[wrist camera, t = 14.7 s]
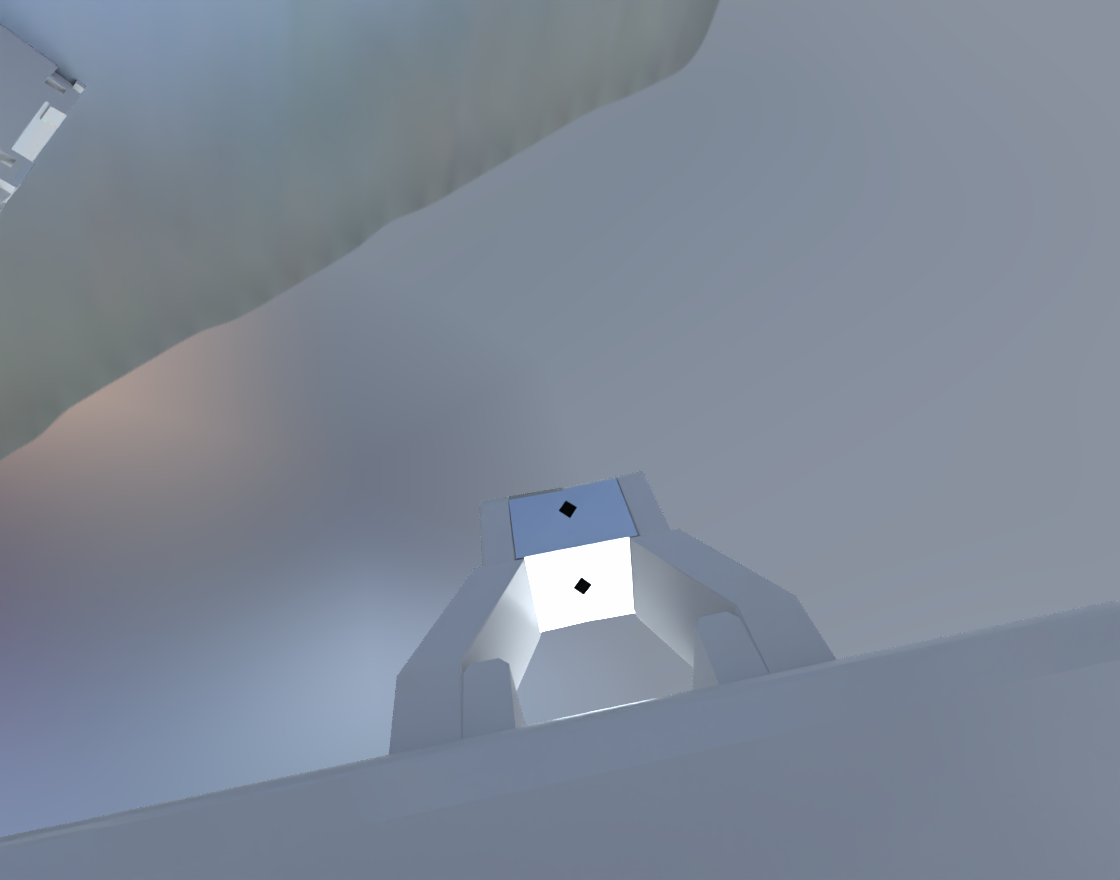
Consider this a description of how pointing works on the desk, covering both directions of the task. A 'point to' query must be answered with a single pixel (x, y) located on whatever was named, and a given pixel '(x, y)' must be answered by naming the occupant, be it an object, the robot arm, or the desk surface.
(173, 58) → the desk surface
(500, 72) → the desk surface
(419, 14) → the desk surface
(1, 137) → the circuit breaker
